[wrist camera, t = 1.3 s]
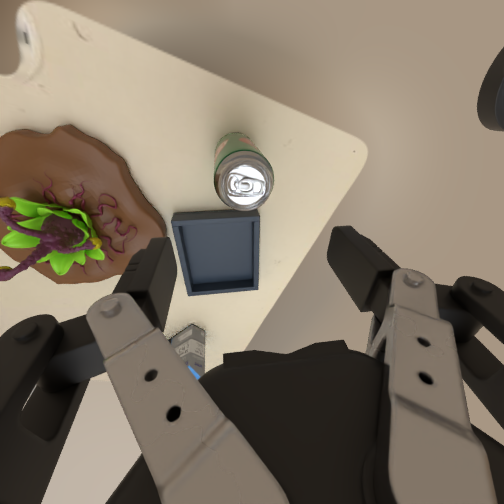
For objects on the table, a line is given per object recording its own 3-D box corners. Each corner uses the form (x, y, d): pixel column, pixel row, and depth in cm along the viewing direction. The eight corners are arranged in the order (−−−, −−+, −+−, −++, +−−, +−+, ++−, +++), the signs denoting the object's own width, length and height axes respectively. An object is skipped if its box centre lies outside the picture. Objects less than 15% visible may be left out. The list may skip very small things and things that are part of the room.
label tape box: (192, 323, 44) (185, 389, 34) (207, 331, 46) (204, 396, 36) (162, 343, 46) (147, 411, 36) (177, 350, 48) (167, 416, 38)
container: (173, 212, 31) (170, 221, 29) (257, 208, 32) (259, 216, 30) (189, 285, 39) (188, 296, 36) (256, 279, 40) (258, 289, 38)
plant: (-71, 168, 24) (-243, 211, 15) (88, 101, 23) (3, 103, 14) (71, 290, 36) (21, 355, 27) (183, 250, 34) (171, 305, 25)
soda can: (216, 128, 26) (216, 147, 16) (258, 135, 27) (283, 157, 17) (213, 173, 29) (212, 212, 19) (252, 178, 30) (270, 217, 20)
